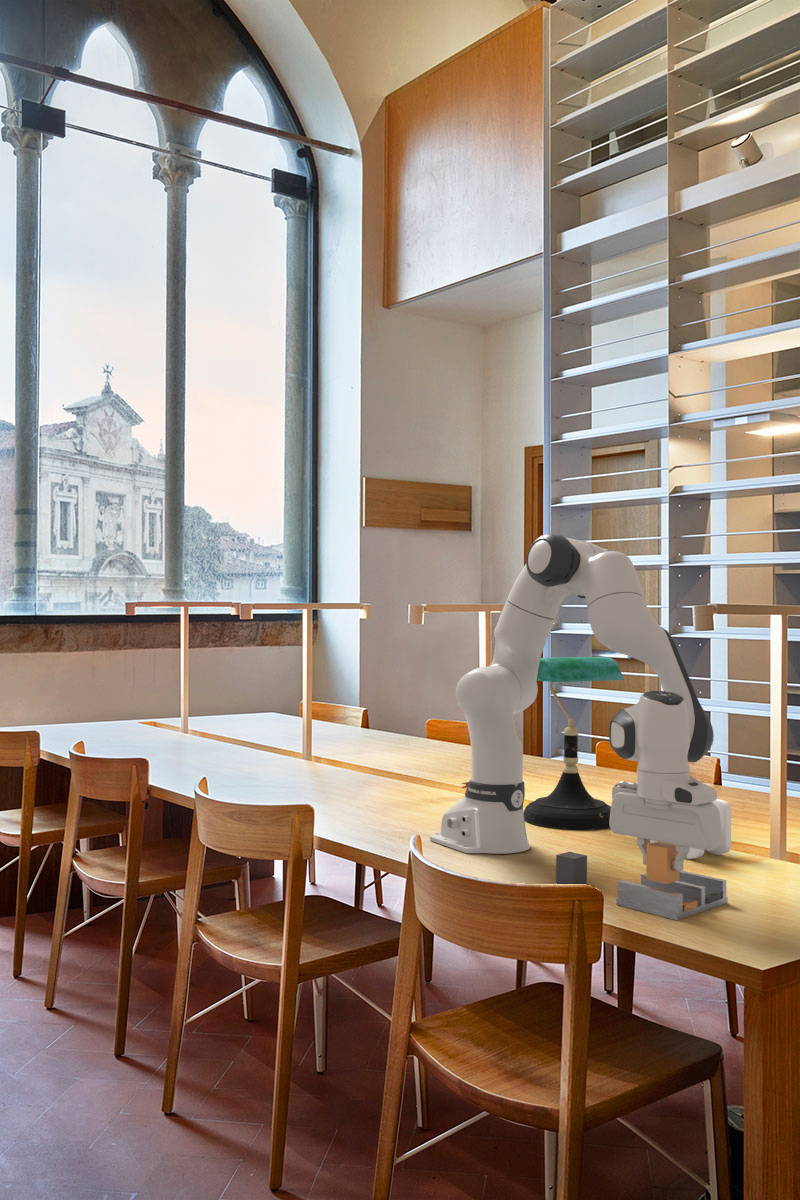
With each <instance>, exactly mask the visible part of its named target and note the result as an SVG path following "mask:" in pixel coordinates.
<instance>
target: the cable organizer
mask: <svg viewBox="0 0 800 1200" xmlns="http://www.w3.org/2000/svg"><path fill="white" fill-rule="evenodd" d="M712 803H714V804H715V805H716V806H717V808H718V810H719V813H720V821H721V843H720V844H719V846H718V847H717V848H715V849H712V850H707V852H708V853H710V854H713V855H716V856H722V855H723V854H728V853H729V852H730V851H731V848H732V807H731V804H729V802H728V801H726V800H724V799H719V798H717V800H716V801H713V802H712ZM654 842H658V841H654V840H651V843H654ZM704 854H705V850H701V849H696V848H691V847H690V851H689V853H688V854H687V856H686V858H685V859H687V860H693V859H697V858H702V856H704Z"/></svg>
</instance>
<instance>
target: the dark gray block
mask: <svg viewBox="0 0 800 1200" xmlns="http://www.w3.org/2000/svg"><path fill="white" fill-rule="evenodd" d="M555 861H556V862H555V884H556V883H557V884H587V885H588V855H586V854H581V853H579V852H578V853H577V852H573V851H566V852H563V853H558V854H555Z"/></svg>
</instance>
